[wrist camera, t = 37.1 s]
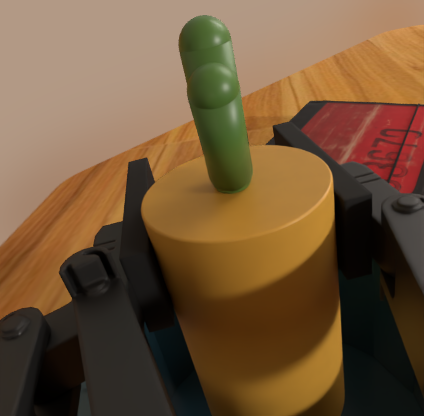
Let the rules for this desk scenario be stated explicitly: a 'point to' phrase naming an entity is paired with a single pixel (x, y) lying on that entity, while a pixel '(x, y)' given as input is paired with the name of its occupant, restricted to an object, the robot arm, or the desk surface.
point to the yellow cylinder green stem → (248, 252)
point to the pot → (351, 348)
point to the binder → (370, 137)
